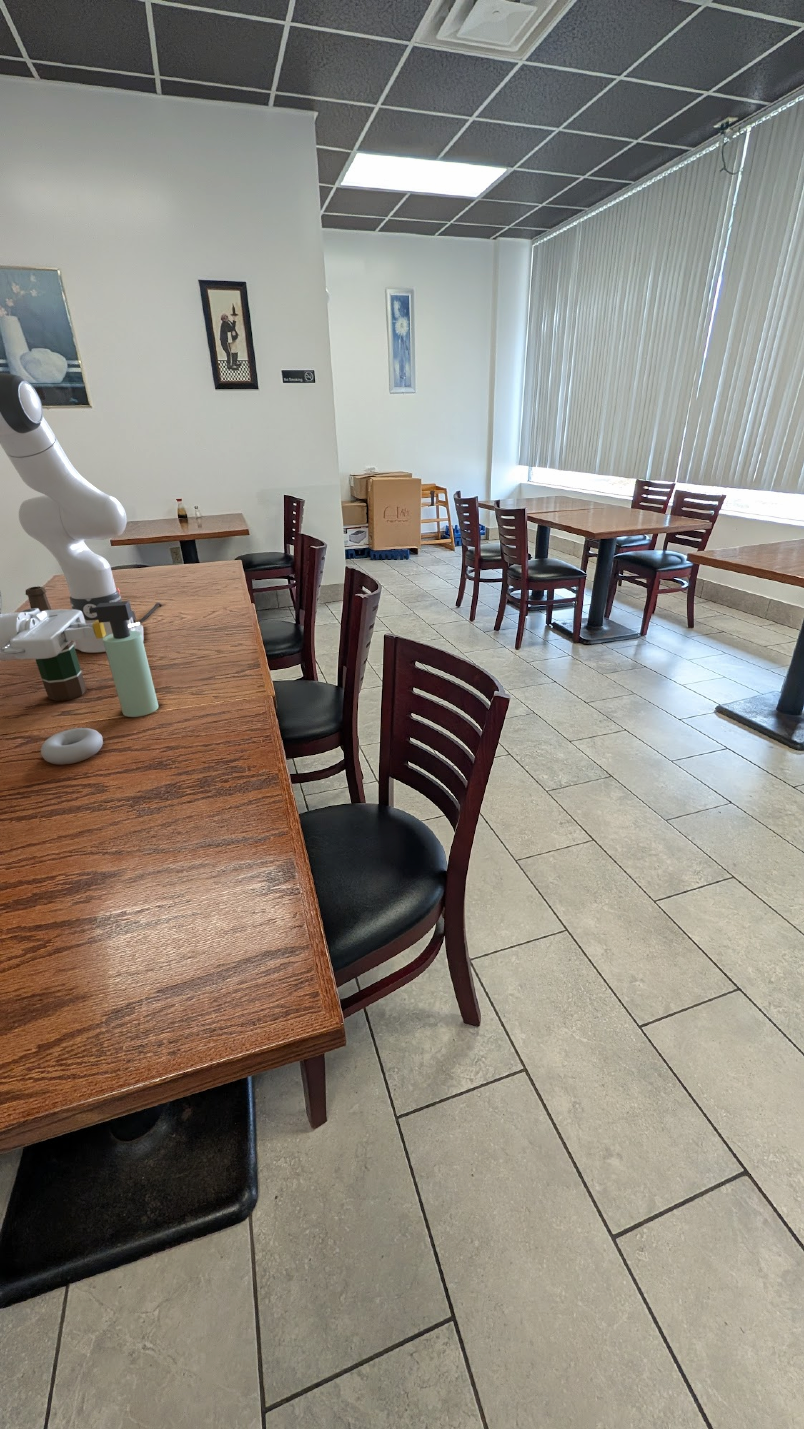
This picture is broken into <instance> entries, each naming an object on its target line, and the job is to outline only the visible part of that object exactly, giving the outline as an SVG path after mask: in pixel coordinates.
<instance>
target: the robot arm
mask: <svg viewBox="0 0 804 1429" xmlns="http://www.w3.org/2000/svg"><path fill="white" fill-rule="evenodd" d="M42 404H43V403H42V401H41V398H40V396H39V394H38V393H37V391H36V389H35V387H34V386H33V385H32V384H31V383H30V382H28V381H27V380H26V379H25V378H23V376H20V375H18V374H13V373H5V372H0V446H1V448H2V450H3V451H4V453H5V455H6V456H7V457H8V459H9V461H10V463H11V464H12V465H13V467H14V469H15V470H16V472H17V473H18V475H19V477H20V478H21V480H22V481H23V483H24V484H25V485H26V486H28V488H30V489H31V490H34V491H36V492H37V493H40V494H42V495H40V496H35V497H31V498H27V499H25V500H23V501H22V502H21V504H20V507H19V508H18V520H19V523H20V525H21V526H20V527H21V528H22V529H23V531H24V532H25V533H26V534H27V535H28V536H29V537H30V538H33V539H34V540H36V541H37V542H38V543H40V544H41V545H43V546H44V547H45V549H47V550H48V551H49V552H50V553H51V555H52V556H53V557H54V558H55V561H56V562H57V563H58V564H59V566H60V569H61V571H62V573H63V576H64V579H65V581H66V585H67V588H68V592H69V594H70V597H69V603H70V606H71V608H69V609H67V608H66V609H65V608H64V609H61V608H60V609H51V610H44V611H40V610H39V609H38V608H32V609H31V608H27V609H24V610H21V611H15V612H9V613H8V612H6V613H2V593H1V592H2V591H0V662H9V661H19V660H35V659H46V658H51V657H55V656H57V655H58V654H59V653H60V652H61V651H62V650H63V649H64V648H65V647H66V646H67V645H68V644H69V643H70V642H71V641H72V642H73V645H74V648H75V650H78V651H81V652H82V653H93V654H94V653H106V650H105V646H104V643H103V638H99V639H97V638H96V635H95V631H94V628H93V623H94V622H95V621H96V620H98V617H97V613H90V611H89V608H94V607H96V606H97V605H98V604H99V603H108V602H121V601H123V600H122V597H121V590H120V589H119V587H116V583H115V579H114V575H113V571H112V567H111V564H110V563H109V561H108V560H107V559H106V558H105V557H103V556H102V555H100V554H97V553H96V552H93V551H92V550H91V549H90V548H89V547H88V545H87V544H86V542H85V541H102V540H104V541H105V540H108V539H113V538H116V537H120V536H122V535H123V533H124V532H125V530H126V528H127V523H128V518H127V517H128V516H127V513H126V509H125V508H124V506H123V504H122V503H121V502H120V501H119V500H118V499H117V498H116V497H114V496H112V495H110V494H108V493H105V492H103V491H102V490H100V489H98V488H97V487H96V486H94V485H93V484H92V483H91V482H89V481H88V480H87V479H86V478H84V477H83V475H82V474H80V472H79V471H78V470H77V469H76V468H75V466H74V465H73V464H72V463H71V461H70V459H69V458H68V456H67V454H66V453H65V451H64V449H63V448H62V446H61V444H60V442H59V440H58V438H57V437H56V434H55V433H54V431H53V429H52V428H51V426H50V425H49V423H48V421H47V420H46V419H45V417H44V410H43V405H42ZM157 607H163V604H162V603H160V602H156V603H155V604H154V606H153V607H152V608H151V609H150V610H149V611H148V612H147V613H146V614H145V615H144V616H143V617H142V618H141V619H140V620H139V621H136V619H137V617H136V613H135V610H132V614H133V616H132V617H131V619H130V620H127V624H128V628H129V631H138V632H140V633H141V635H142V639H143V642H144V640H145V639H144V637H145V636H144V634H145V633H144V626H143V624H141V623H142V622H144V621H145V620H146V619H147V618H148V617H150V616H151V615H152V613H153V612H154V611H155V610H156V609H157ZM103 625H104V628H105V632H106V635H105V636H107V635H110V634H113V633H112V629H111V625H110V622H103ZM105 636H104V637H105Z"/></svg>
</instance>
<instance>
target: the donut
mask: <svg viewBox="0 0 804 1429" xmlns="http://www.w3.org/2000/svg"><path fill="white" fill-rule="evenodd" d="M103 740H104V739H103V736H102V734H101V733H100V732H98V731H97V730H96V729H93V728H89V727H77V728H71V729H65V730H62V731H59V732H58V733H55V734H53V735H51V736H50V737H48V738H47V739H45V741H44V742H43V743H42V745H41V748H40V755H41V757H42V758H43V759H44V760H45V761H46V762H47V763H50V764H53V765H62V766H63V765H72V764H76V763H80V762H82V761H86V760H87V759H89V758H92V757H94V756H95V755H96V754H97V753H98V752H99V751H100V750H101V749H102V747H103V745H104V741H103Z"/></svg>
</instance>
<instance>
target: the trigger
mask: <svg viewBox="0 0 804 1429" xmlns="http://www.w3.org/2000/svg"><path fill="white" fill-rule="evenodd" d="M93 628H94V631H95V635H96V638H97V639H99V638H104V636H105V635H106V632H105V628H104V625H103V622H102V623H99V620H96V621H95V622H94V623H93Z"/></svg>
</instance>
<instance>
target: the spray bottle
mask: <svg viewBox="0 0 804 1429" xmlns="http://www.w3.org/2000/svg"><path fill="white" fill-rule="evenodd" d="M89 611H90V613H97V617H98V620H99V623H102V622H110V625H111V629H112V633H113V634H110V635H107V636H105V637H104V638H103V643H104V646H105V650H106V652H105V653H106V657H107V661H108V664H109V668H110V672H111V676H112V679H113V682H114V688H115V691H116V695H117V698H118V701H119V706H120V708H121V713H122V715H123V716H125V717H127V718H137V717H138V718H140V717H143V716H147V715H150V714H152V713H154V712H156V711H157V710H158V709H159V702H158V698H157V694H156V690H155V685H154V682H153V678H152V672H151V668H150V666H149V664H150V663H149V661H148V656H147V653H146V648H145V645H144V644H145V643H144V641H143V639H142V635H141V633H140V632H138V631H129V628H128V624H127V620H130V619H131V617H132V616H133V614H132V611H133V610H132V607H131V602H130V600H122V601H121V602H108V603H99V604H98V605H97V606H96V607H94V608H89Z"/></svg>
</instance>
